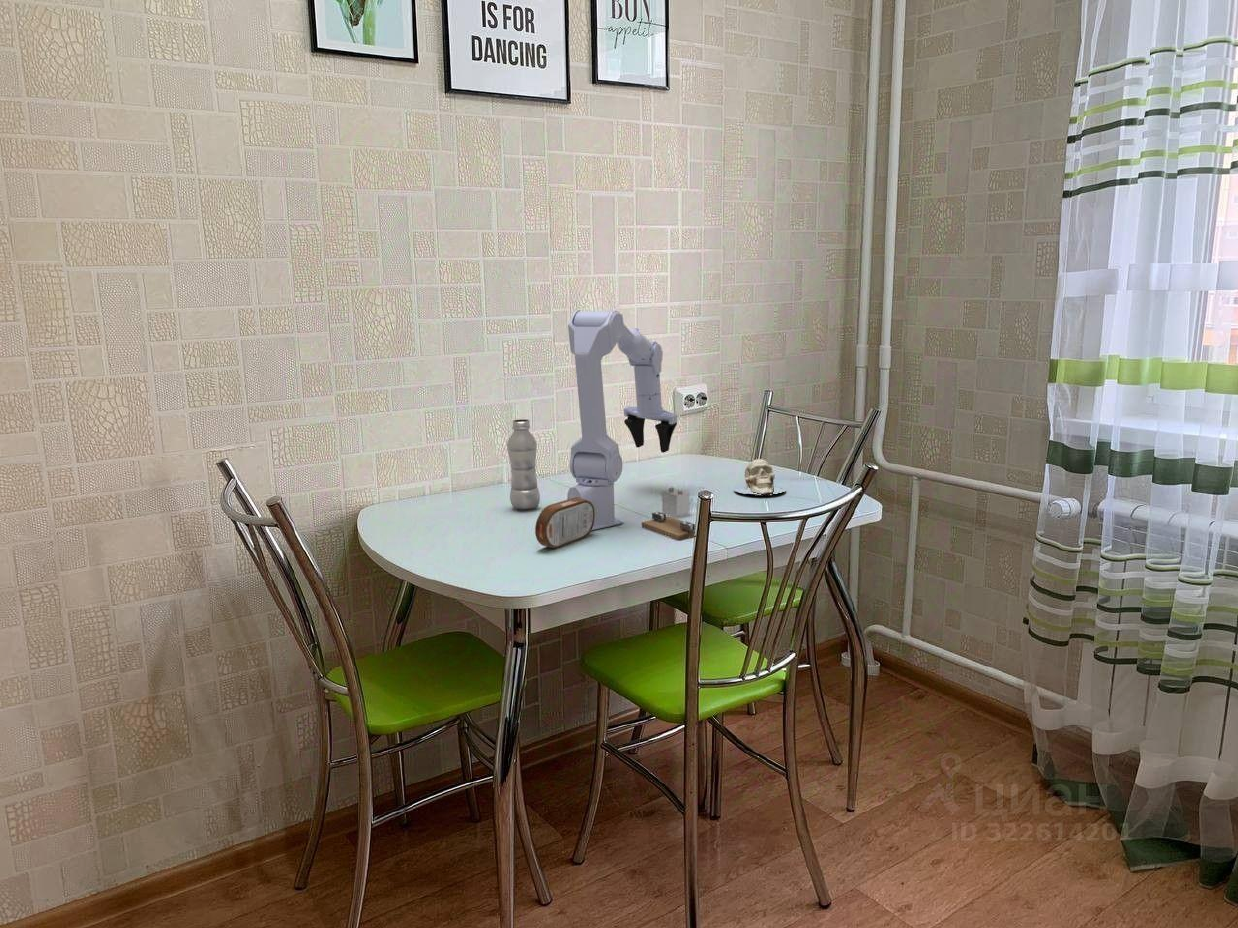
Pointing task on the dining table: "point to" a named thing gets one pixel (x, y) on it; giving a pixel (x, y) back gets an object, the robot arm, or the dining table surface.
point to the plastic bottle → (523, 466)
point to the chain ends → (683, 525)
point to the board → (668, 528)
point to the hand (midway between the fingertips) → (652, 448)
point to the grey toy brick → (675, 502)
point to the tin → (564, 522)
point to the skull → (760, 477)
